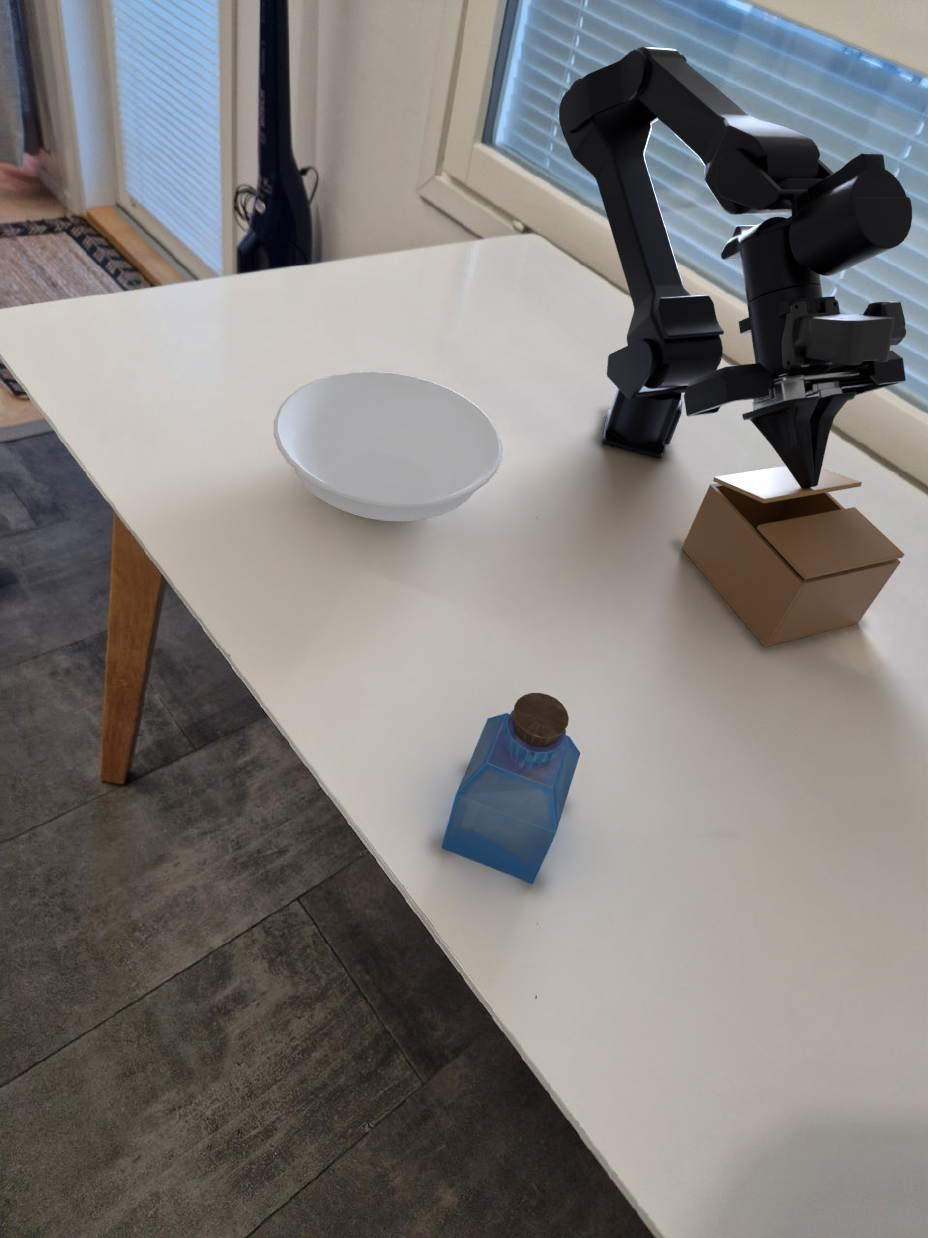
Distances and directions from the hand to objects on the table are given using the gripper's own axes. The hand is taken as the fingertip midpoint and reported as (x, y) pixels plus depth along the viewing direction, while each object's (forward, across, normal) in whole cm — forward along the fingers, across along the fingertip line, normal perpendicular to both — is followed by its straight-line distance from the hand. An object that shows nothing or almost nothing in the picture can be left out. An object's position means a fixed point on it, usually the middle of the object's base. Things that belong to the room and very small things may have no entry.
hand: (809, 487), depth 72 cm
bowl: (-6, -30, +21) cm, 37 cm away
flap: (-1, 0, +3) cm, 3 cm away
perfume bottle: (+19, -34, -4) cm, 39 cm away
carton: (+8, 0, +7) cm, 10 cm away
